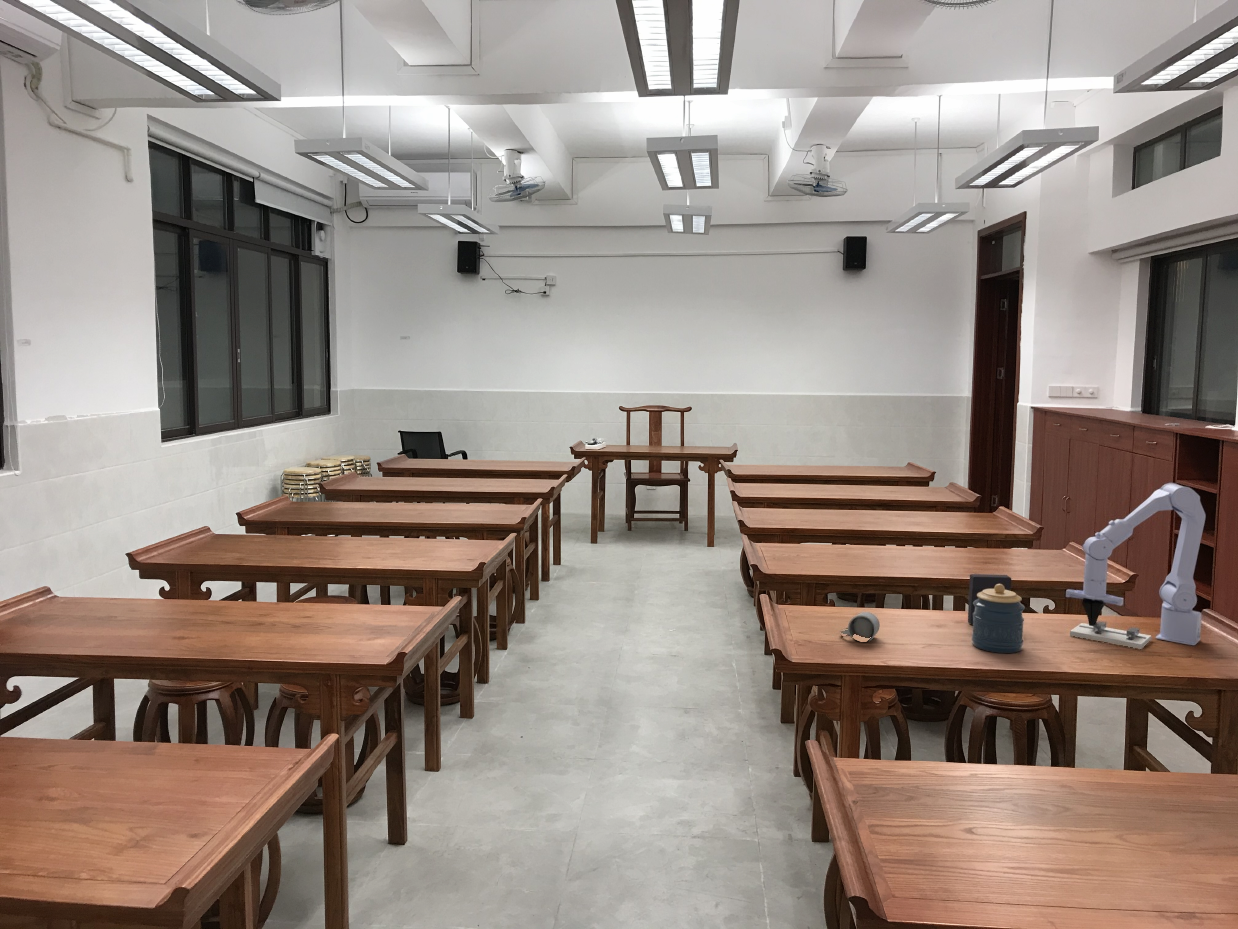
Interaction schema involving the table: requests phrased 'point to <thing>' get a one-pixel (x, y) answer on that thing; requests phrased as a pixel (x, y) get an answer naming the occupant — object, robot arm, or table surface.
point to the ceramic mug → (863, 625)
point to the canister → (998, 621)
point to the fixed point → (1132, 632)
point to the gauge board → (1110, 636)
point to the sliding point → (1099, 626)
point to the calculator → (981, 583)
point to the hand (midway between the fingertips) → (1092, 625)
